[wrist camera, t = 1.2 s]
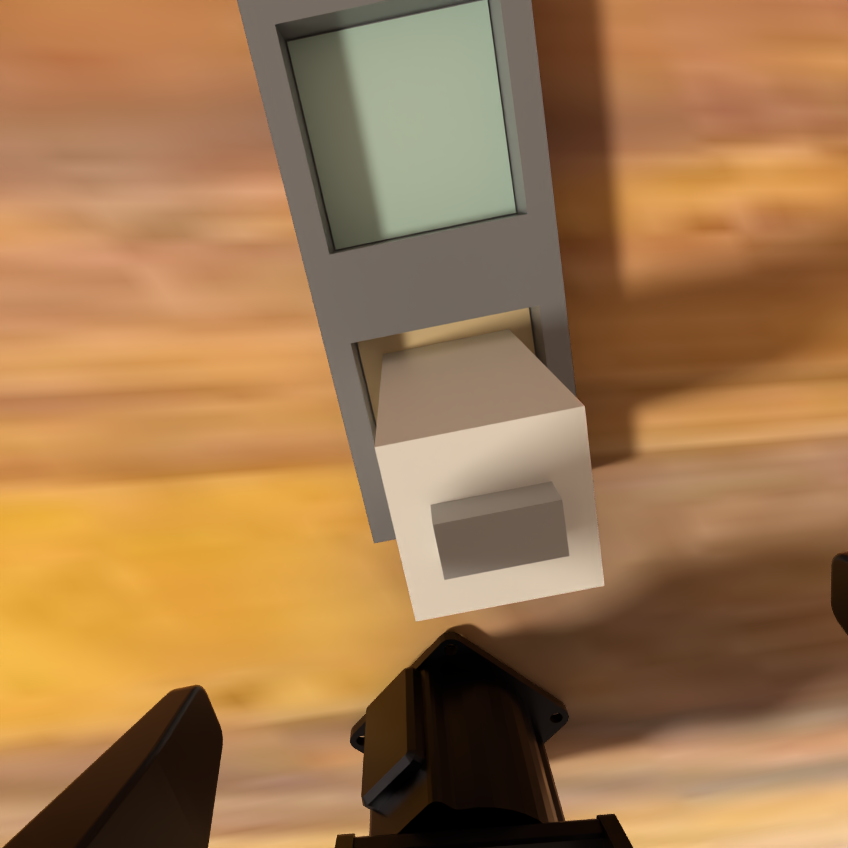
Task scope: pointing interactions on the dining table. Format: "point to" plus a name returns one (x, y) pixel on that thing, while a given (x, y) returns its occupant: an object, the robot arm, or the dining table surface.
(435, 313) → the socket panel
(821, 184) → the dining table surface
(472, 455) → the plug
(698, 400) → the dining table surface
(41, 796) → the dining table surface
